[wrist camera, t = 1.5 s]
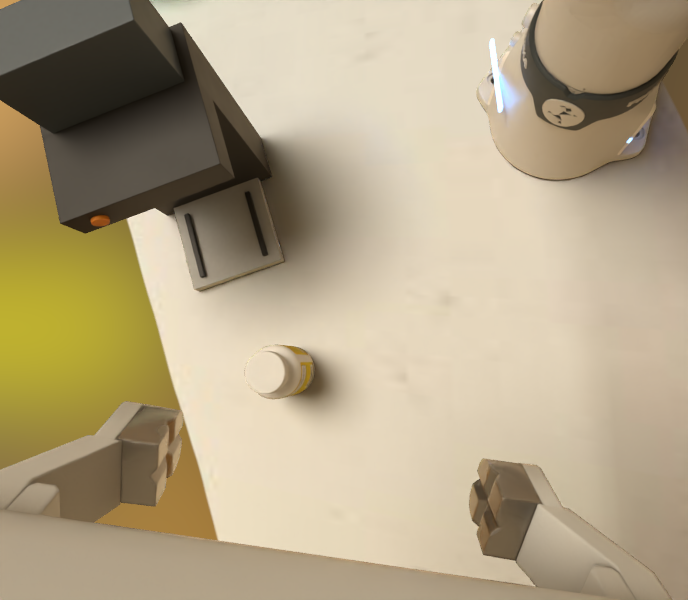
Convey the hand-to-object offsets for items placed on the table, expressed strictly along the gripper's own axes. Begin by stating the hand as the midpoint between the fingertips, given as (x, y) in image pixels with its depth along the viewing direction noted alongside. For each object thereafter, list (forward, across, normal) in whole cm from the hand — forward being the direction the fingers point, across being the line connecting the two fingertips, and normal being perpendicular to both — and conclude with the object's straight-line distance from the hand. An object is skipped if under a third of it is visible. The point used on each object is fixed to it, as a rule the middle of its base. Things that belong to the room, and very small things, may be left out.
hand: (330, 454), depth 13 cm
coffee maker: (+47, +14, +4) cm, 49 cm away
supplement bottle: (+38, +3, +18) cm, 42 cm away
